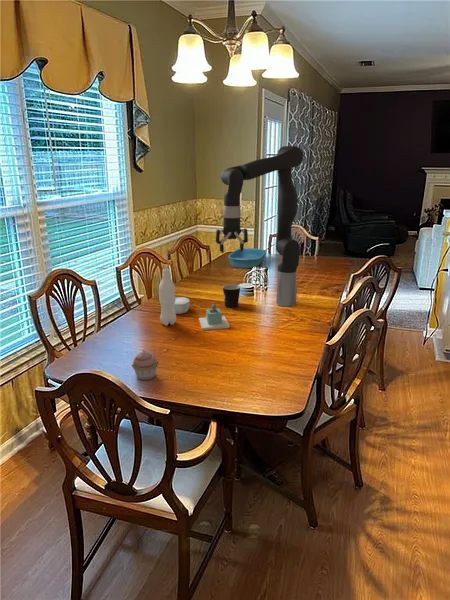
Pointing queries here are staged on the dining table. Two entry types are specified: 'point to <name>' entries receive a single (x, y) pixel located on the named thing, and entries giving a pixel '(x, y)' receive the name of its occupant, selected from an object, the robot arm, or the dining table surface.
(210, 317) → the collar
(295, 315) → the dining table surface
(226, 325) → the post stand
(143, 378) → the cupcake
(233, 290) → the coffee mug
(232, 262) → the casserole dish
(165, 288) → the water bottle
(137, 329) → the dining table surface
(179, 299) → the ramekin
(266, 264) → the dining table surface
